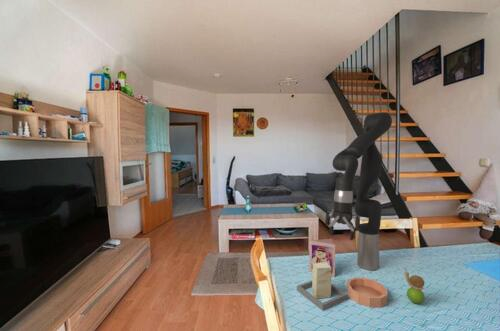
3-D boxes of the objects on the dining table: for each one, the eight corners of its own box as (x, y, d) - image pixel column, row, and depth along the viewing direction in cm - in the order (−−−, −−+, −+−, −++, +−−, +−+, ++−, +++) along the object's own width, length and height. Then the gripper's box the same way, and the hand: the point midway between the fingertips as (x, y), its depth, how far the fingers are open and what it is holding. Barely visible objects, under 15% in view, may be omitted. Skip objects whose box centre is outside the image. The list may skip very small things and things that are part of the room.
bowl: (362, 282, 102) (362, 274, 102) (395, 299, 90) (395, 291, 90) (339, 291, 96) (339, 283, 95) (371, 312, 83) (372, 302, 83)
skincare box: (316, 299, 91) (316, 268, 90) (311, 292, 95) (311, 262, 95) (331, 297, 92) (332, 267, 91) (326, 290, 96) (326, 261, 95)
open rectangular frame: (320, 281, 103) (320, 277, 103) (347, 299, 91) (347, 294, 90) (297, 290, 97) (297, 285, 97) (322, 310, 84) (322, 305, 84)
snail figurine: (404, 295, 93) (405, 265, 92) (424, 301, 89) (426, 270, 88) (402, 301, 89) (403, 270, 88) (423, 309, 85) (425, 276, 84)
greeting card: (308, 272, 111) (309, 241, 110) (312, 265, 118) (312, 235, 117) (334, 278, 106) (335, 245, 105) (336, 270, 113) (336, 239, 112)
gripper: (362, 201, 102) (361, 239, 102) (330, 197, 111) (328, 232, 111) (358, 203, 96) (356, 243, 97) (324, 199, 105) (322, 235, 105)
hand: (341, 237), depth 104 cm, fingers open, 8 cm apart
